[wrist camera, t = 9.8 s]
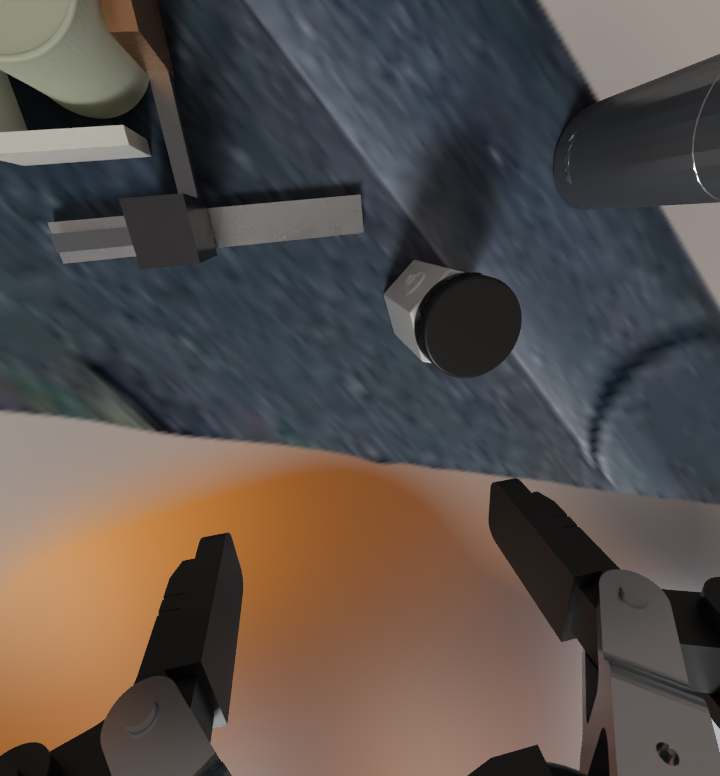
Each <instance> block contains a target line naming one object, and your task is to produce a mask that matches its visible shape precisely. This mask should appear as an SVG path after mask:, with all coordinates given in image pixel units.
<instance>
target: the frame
mask: <svg viewBox="0 0 720 776" xmlns="http://www.w3.org/2000/svg"><path fill="white" fill-rule="evenodd" d="M140 157H151V153H150V149H149V145H148V142H147V139H145V138H144V137H142V136H140V135H139V134H137V133H136V132H134V131H132V130H131V129H129V128H128V127H126V126H124V125H112V126H95V127H79V128H63V129H46V130H30V131H28V129H27V127H26V124H25V121H24V119H23V116H22V113H21V111H20V108H19V105H18V103H17V100H16V97H15V95H14V92H13V89H12V87H11V84H10V81H9V79H8V76H7V73H5V72H4V71H2V70H0V160H1V161H5V162H10V163H14V164H18V165H23V166H29V165H42V164H56V163H70V162H84V161H98V160H112V159H126V158H140Z"/></svg>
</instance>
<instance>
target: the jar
mask: <svg viewBox="0 0 720 776" xmlns="http://www.w3.org/2000/svg"><path fill="white" fill-rule="evenodd" d="M384 298H385V301H386V305H387V308H388V312H389V316H390V319H391V323H392V327H393V330H394V334H395V335H396V336H397V337H398V338H399V339H400V340H401V341H402V342H403V343H404V344H405V345H406V346H407V347H408V348H409V349H410V350H411V351H412V352H413V353H414V354H415V355H416V356H417V357H418V358H419V359H420V360H421V361H423V362H427V363H432V364H433V365H434V366H435V367H436V368H438V369H439V370H440V371H442V372H443V373H445V374H447V375H450V376H453V377H458V378H471V377H476V376H480V375H483V374H485V373H487V372H489V371H491V370H492V369H494V368H495V367H497V366H498V365H499V364H500V363H502V362H503V361H504V360H505V359H506V357H507V356H508V355H509V354H510V352H511V351H512V349H513V348H514V346H515V344H516V342H517V339H518V336H519V333H520V329H521V321H522V320H521V309H520V305H519V302H518V299H517V297H516V295H515V294H514V292H513V291H512V290H511V289H510V288H509V287H508V286H507V285H506V284H505V283H503V282H502V281H500V280H498V279H496V278H493V277H489V276H485V275H481V273H475V272H473V273H470V272H465V271H461V270H457V269H453V268H449V267H444V266H440V265H436V264H432V263H427V262H423V261H419V260H413V261H412V262H411V264H410V265H409V266H408V267H407V268H406V269H405V270H404V271H403V273H402V274H401V275H400V276H399V277H398V278H397V279H396V280H395V282H394V283H393V284H392V285H391V286H390V287H389V288H388V290H387V291H386V292H385V293H384Z"/></svg>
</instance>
